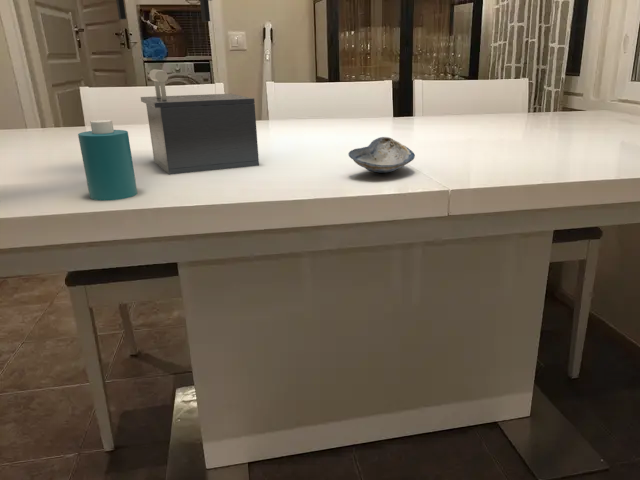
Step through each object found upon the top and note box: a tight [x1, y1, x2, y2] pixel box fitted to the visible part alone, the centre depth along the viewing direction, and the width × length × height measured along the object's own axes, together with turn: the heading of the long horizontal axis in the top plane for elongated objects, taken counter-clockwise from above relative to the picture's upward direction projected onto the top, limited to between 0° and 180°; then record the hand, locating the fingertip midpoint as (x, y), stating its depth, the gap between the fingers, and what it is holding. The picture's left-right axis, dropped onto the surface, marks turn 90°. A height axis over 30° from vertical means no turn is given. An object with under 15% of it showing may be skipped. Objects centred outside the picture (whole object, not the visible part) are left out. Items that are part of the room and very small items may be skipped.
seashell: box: [348, 136, 416, 174], centre depth 95 cm, size 15×12×5 cm
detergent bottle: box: [77, 119, 138, 202], centre depth 79 cm, size 6×6×11 cm
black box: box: [145, 103, 260, 176], centre depth 102 cm, size 16×14×11 cm
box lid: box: [140, 68, 255, 108], centre depth 99 cm, size 17×14×6 cm
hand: (165, 20), depth 94 cm, fingers open, 13 cm apart
